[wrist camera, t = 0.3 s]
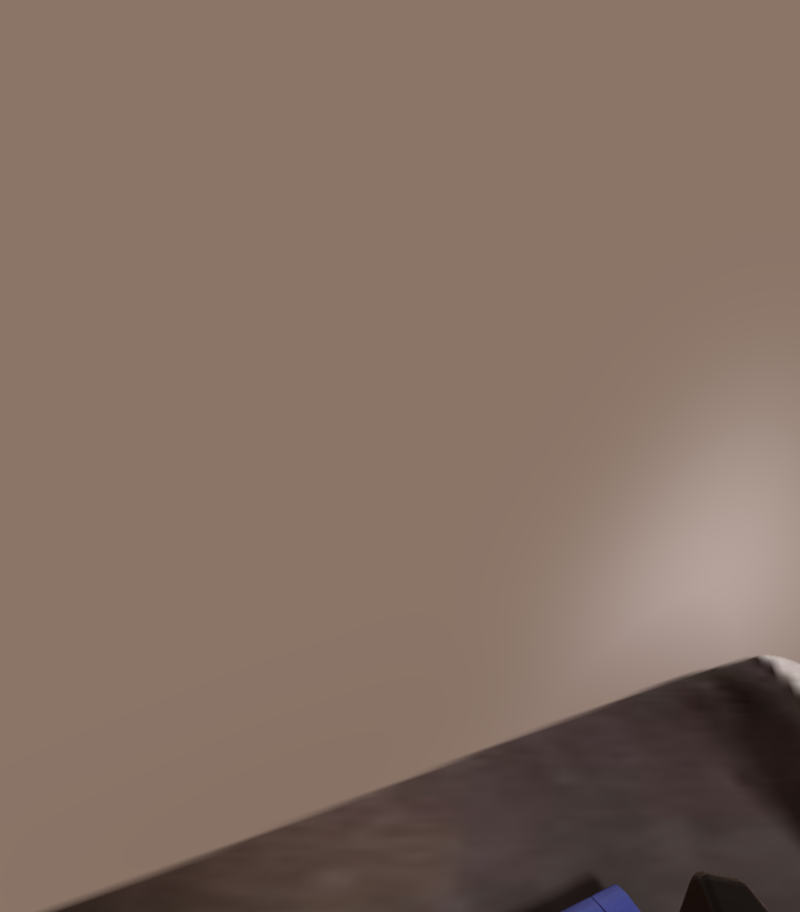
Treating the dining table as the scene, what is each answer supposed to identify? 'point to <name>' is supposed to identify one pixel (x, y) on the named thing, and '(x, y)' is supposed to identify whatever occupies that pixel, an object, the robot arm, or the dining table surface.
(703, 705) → the dining table surface
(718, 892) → the robot arm
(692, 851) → the dining table surface
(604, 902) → the hard drive
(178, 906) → the dining table surface
